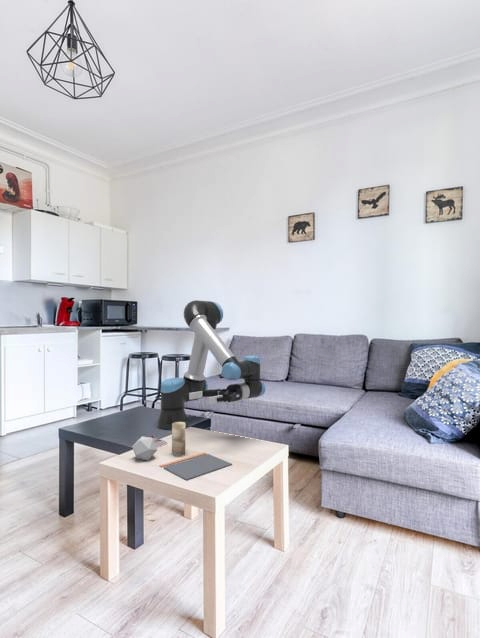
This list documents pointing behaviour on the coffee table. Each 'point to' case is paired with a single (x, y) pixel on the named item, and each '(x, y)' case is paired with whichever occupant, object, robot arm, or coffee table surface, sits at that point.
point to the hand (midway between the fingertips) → (199, 398)
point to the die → (144, 448)
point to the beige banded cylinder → (178, 439)
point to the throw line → (182, 459)
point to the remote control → (158, 441)
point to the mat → (197, 466)
